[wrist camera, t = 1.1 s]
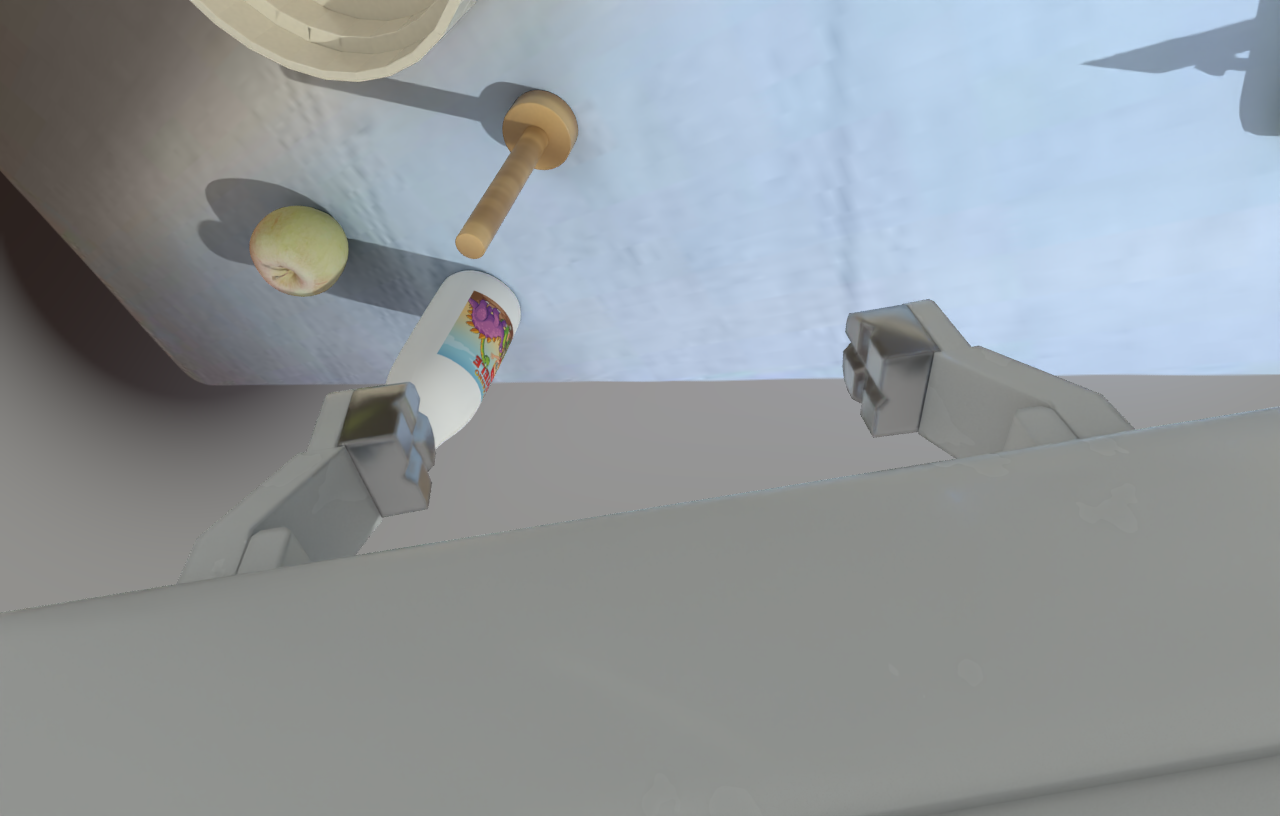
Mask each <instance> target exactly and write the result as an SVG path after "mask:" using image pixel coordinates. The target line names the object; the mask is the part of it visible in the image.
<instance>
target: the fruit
mask: <svg viewBox="0 0 1280 816" xmlns="http://www.w3.org/2000/svg"><path fill="white" fill-rule="evenodd" d="M250 255H251V258H252V260H253V262H254V265H255V266H256V268H257V270H258V271H259V273H260V274H261V276H262V277H263V278H264V279H265V281H266V282H267V283H268V284H270V285H271V286H272V287H274V288H275V289H277V290H278V291H281V292H283V293H286V294H289V295H293V296H301V297H305V296H313V295H317V294H320V293H322V292H324V291H326V290H328V289H329V288H330V287H332V286H333V285H334V284H335V282H336V281H337V280H338V278H339V277H340V275H341V274H342V272H343V270H344V268H345V265H346V262H347V259H348V241H347V238H346V235H345V233H344V231H343V229H342V227H341V226H340V225H339V223H338V222H337V221H336V220H335V219H334V218H333V217H331V216H330V215H328V214H327V213H324V212H322V211H319V210H317V209H314V208H312V207H306V206H289V207H283V208H280V209H277V210H275V211H273V212H271V213H270V214H268V215H267V216H265V217H264V218H263V219H262V220H261V221H260V222H259V224H258V225H257V226H256V228H255V229H254V231H253V233H252V236H251V239H250Z"/></svg>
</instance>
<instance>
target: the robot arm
mask: <svg viewBox="0 0 1280 816" xmlns="http://www.w3.org/2000/svg"><path fill="white" fill-rule="evenodd" d="M845 332H846V334H847V336H848V338H849V339H850V341H851V343H850V344H849V345H848V347H847V348H846V349H845V350H844V351H843V374H844V381H845V384H846V387H847V390H848V392H849V394H850V396H851V398H852V399H853V400H855V401H857V402H859V403H861V404H862V405H861V414H860V415H861V416H862V418H863V420H864V422H865V424H866V425H867V427H868V429H869V430H870V433H871V434H872V436H873V438H874V437H882V436H889V435H898V434H905V433H913V432H918V433H919V435H921V436H922V437H924V438H926V439H927V440H928V441H930V442H931V443H933V444H934V445H936V446H938V447H939V448H941V449H942V450H944V451H945V452H947V453H948V454H950V455H951V456H953V457H954V458H956V459H951V460H945V461H939V462H932V463H927V464H920V465H915V466H908V467H901V468H895V469H889V470H883V471H877V472H871V473H864V474H858V475H852V476H846V477H839V478H833V479H827V480H821V481H815V482H808V483H803V484H797V485H790V486H784V487H778V488H771V489H765V490H759V491H753V492H746V493H741V494H735V495H728V496H722V497H716V498H709V499H703V500H697V501H691V502H684V503H678V504H672V505H666V506H659V507H653V508H647V509H641V510H635V511H629V512H622V513H616V514H610V515H604V516H597V517H591V518H585V519H579V520H572V521H566V522H560V523H554V524H548V525H541V526H535V527H529V528H523V529H517V530H510V531H504V532H499V533H492V534H485V535H479V536H473V537H467V538H461V539H454V540H448V541H442V542H436V543H429V544H423V545H418V546H411V547H405V548H399V549H392V550H386V551H380V552H374V553H367V554H362V555H356V554H357V552H358V551H359V550H360V548H361V547H362V546H363V545H364V543H365V542H366V541H367V539H368V538H369V537H370V535H371V534H372V533H373V532H374V530H375V529H376V528H377V527H378V525H379V524H380V523H381V521H382V517H388V516H393V515H399V514H403V513H409V512H415V511H420V510H425V509H428V506H429V499H430V492H431V484H432V482H431V479H430V477H429V474H428V471H429V470H430V469H431V468H432V467H433V466H434V463H435V454H436V453H435V439H434V435H433V431H432V427H431V424H430V422H429V419H428V417H427V416H425V415H424V414H422V413H421V412H419V404H420V397H419V394H418V392H417V390H416V388H415V385H414V384H412V383H411V382H403V383H396V384H388V385H381V386H374V387H366V388H359V389H352V390H345V391H339V392H333V393H329V394H328V395H327V396H326V397H325V398H324V401H323V404H322V407H321V410H320V413H319V416H318V419H317V421H316V424H315V428H314V430H313V433H312V436H311V439H310V442H309V445H308V448H307V451H306V452H303V453H298V454H297V455H295V456H294V457H293V458H292V459H291V460H290V461H288V462H287V463H286V464H285V465H284V466H282V467H281V468H280V469H279V470H278V471H276V472H275V473H274V474H273V475H272V476H271V477H269V478H268V479H267V480H266V481H265V482H263V483H262V484H261V485H260V486H259V487H257V488H256V489H255V490H254V491H253V492H252V493H250V494H249V495H248V496H247V497H246V498H245V499H243V500H242V501H241V502H240V503H238V504H237V505H236V506H235V507H234V508H233V509H231V510H230V511H229V512H228V513H227V514H225V515H224V516H223V517H222V518H221V519H220V520H218V521H217V522H216V523H215V524H213V525H212V526H211V527H210V528H209V529H208V530H206V531H205V532H204V533H203V534H202V535H200V536H199V537H198V538H197V539H196V541H195V544H194V546H193V548H192V550H191V553H190V556H189V557H188V559H187V562H186V564H185V566H184V568H183V570H182V573H181V575H180V577H179V579H178V582H177V584H176V585H169V586H162V587H156V588H151V589H144V590H138V591H132V592H125V593H119V594H113V595H107V596H101V597H95V598H88V599H82V600H76V601H69V602H63V603H57V604H51V605H45V606H38V607H33V608H26V609H20V610H14V611H8V612H1V613H0V816H1280V406H1279V407H1273V408H1267V409H1261V410H1255V411H1249V412H1242V413H1236V414H1230V415H1224V416H1218V417H1212V418H1206V419H1200V420H1194V421H1187V422H1182V423H1175V424H1169V425H1163V426H1156V427H1150V428H1144V429H1138V430H1135V428H1134V427H1132V426H1131V424H1130V423H1129V422H1128V421H1127V420H1126V419H1125V418H1124V417H1123V416H1122V415H1121V414H1120V413H1119V412H1118V411H1117V410H1116V409H1115V408H1114V407H1113V405H1112V404H1111V403H1110V402H1108V400H1107V399H1106V398H1105V397H1104V396H1103V395H1102V394H1099V393H1097V392H1094V391H1092V390H1089V389H1087V388H1084V387H1082V386H1079V385H1077V384H1074V383H1072V382H1069V381H1067V380H1064V379H1062V378H1059V377H1057V376H1054V375H1052V374H1049V373H1047V372H1044V371H1042V370H1039V369H1037V368H1034V367H1031V366H1029V365H1026V364H1024V363H1021V362H1019V361H1016V360H1014V359H1011V358H1009V357H1006V356H1004V355H1001V354H999V353H996V352H994V351H991V350H989V349H986V348H984V347H981V346H974V347H971V346H970V345H969V343H968V342H967V341H966V340H965V339H964V337H963V336H962V335H961V334H960V332H959V331H958V330H957V329H956V328H955V326H954V325H953V324H952V323H951V321H950V320H949V319H948V318H947V317H946V315H945V314H944V313H943V312H942V310H941V309H940V308H939V307H938V306H937V304H936V303H935V302H934V301H932V300H930V299H926V300H921V301H915V302H910V303H905V304H902V305H897V306H891V307H885V308H879V309H873V310H867V311H861V312H855V313H849V316H848V318H847V322H846V331H845Z"/></svg>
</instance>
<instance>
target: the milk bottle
mask: <svg viewBox="0 0 1280 816" xmlns="http://www.w3.org/2000/svg"><path fill="white" fill-rule="evenodd" d="M520 320H521V310H520V305H519V302H518V300H517V298H516V296H515V295H514V293H513V292H512V291H511V290H510V288H509V287H508V286H506V285H505V284H504V283H503V282H502V281H500V280H498V279H497V278H495V277H493V276H491V275H489V274H486V273H483V272H480V271H473V270H469V271H468V270H465V271H461V272H457V273H455V274H453V275H451V276H449V277H448V278H447V279H446V280H445V281H444V282H443V284H442V285H441V287H440V288H439V289H438V291H437V293H436V294H435V296H434V297H433V299H432V301H431V302H430V304H429V305H428V307H427V309H426V310H425V312H424V314H423V315H422V317H421V318H420V320H419V322H418V323H417V325H416V327H415V328H414V330H413V331H412V333H411V335H410V336H409V338H408V340H407V341H406V343H405V345H404V346H403V348H402V350H401V351H400V353H399V355H398V357H397V359H396V361H395V362H394V364H393V366H392V368H391V370H390V373H389V375H388V378H387V381H386V385H388V384H396V383H403V382H411V383H412V384H414V385H415V388H416V390H417V392H418V394H419V397H420V404H419V412H421V413H422V414H424V415H425V416H427V417H428V419H429V422H430V424H431V427H432V431H433V435H434V439H435V449H436V448H437V447H438V446H439V445H441V444H442V443H443V442H444V441H446V440H447V439H449V438H450V437H452V436H453V435H454V434H456V433H457V432H459V431H460V430H461V429H462V428H463V427H464V426H465V425H466V424H467V423H468V422H469V421H470V419H471V418H472V417H473V415H474V414H475V412H476V411H477V409H478V407H479V405H480V403H481V402H482V400H483V398H484V396H485V394H486V392H487V390H488V388H489V386H490V384H491V382H492V380H493V378H494V376H495V374H496V372H497V370H498V368H499V366H500V364H501V362H502V360H503V358H504V356H505V354H506V352H507V349H508V347H509V345H510V343H511V341H512V339H513V337H514V335H515V333H516V331H517V328H518V326H519V323H520Z"/></svg>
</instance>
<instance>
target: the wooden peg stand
mask: <svg viewBox="0 0 1280 816" xmlns="http://www.w3.org/2000/svg"><path fill="white" fill-rule="evenodd" d="M502 131H503V137H504V141H505V143H506V145H507V147H508V149H509V150H510V152H511V153H510V155H509V156H508V158H507V159H506V161H505V162H504V164H503V165H502V167H501V169H500V170H499V172H498V173H497V175H496V176H495V178H494V179H493V181H492V183H491V184H490V186H489V187H488V189H487V190H486V192H485V194H484V195H483V197H482V198H481V200H480V201H479V203H478V204H477V206H476V208H475V209H474V211H473V212H472V214H471V215H470V217H469V218H468V220H467V222H466V223H465V225H464V226H463V228H462V229H461V231H460V233H459V234H458V236H457V237H456V240H455V243H456V247H457V249H458V250H459V252H460V253H461V254H463V255H464V256H466V257H468V258H471V259H477V258H480V257H482V256H483V255H484V253H485V251H486V250H487V248H488V246H489V245H490V243H491V241H492V239H493V238H494V236H495V234H496V233H497V231H498V229H499V227H500V226H501V224H502V222H503V221H504V219H505V217H506V215H507V214H508V212H509V210H510V209H511V207H512V205H513V203H514V202H515V200H516V198H517V197H518V195H519V193H520V191H521V190H522V188H523V186H524V185H525V183H526V181H527V179H528V178H529V176H530V174H531V173H532V171H533V169H539V170H549V169H553V168H556V167H558V166H560V165H561V164H562V163H563V162H564V161H565V160H566V159H567V157H568V155H569V154H570V152H571V150H572V148H573V146H574V144H575V142H576V140H577V136H578V125H577V121H576V118H575V115H574V113H573V112H572V110H571V108H570V107H569V106H568V105H567V103H566V102H565V101H563V100H562V99H561V98H560V97H558V96H557V95H555V94H553V93H550V92H547V91H542V90H533V91H529V92H526V93H524V94H522V95H521V96H520V97H519V98H518V99H517V100H516V101H515V102H514V104H513V105H512V107H511V108H510V110H509V111H508V113H507V114H506V116H505V118H504V121H503V126H502Z"/></svg>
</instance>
